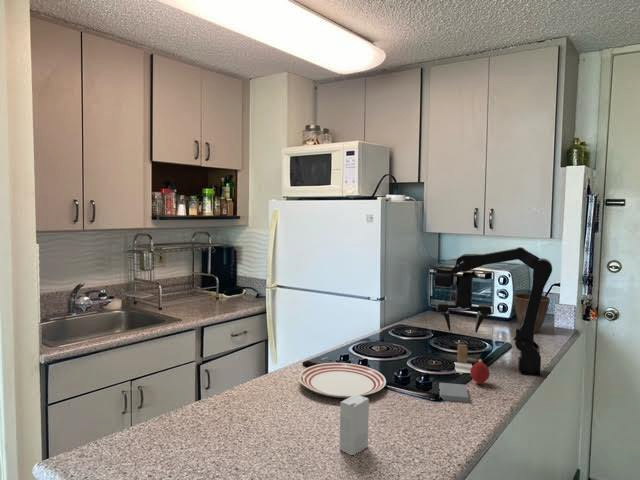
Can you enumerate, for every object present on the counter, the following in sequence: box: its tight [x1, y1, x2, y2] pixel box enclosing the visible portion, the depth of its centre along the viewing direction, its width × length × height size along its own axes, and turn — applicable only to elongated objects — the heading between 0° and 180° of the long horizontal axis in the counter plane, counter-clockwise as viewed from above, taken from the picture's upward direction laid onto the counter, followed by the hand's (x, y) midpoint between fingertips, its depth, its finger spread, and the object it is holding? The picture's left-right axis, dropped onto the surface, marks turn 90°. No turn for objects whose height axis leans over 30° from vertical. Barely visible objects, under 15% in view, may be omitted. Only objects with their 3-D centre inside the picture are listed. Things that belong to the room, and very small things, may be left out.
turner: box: [453, 343, 473, 375], centre depth 170 cm, size 15×6×6 cm, turn 168°
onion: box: [470, 359, 491, 385], centre depth 154 cm, size 6×6×8 cm
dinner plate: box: [298, 362, 387, 399], centre depth 152 cm, size 27×27×3 cm
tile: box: [438, 382, 469, 404], centre depth 146 cm, size 2×8×10 cm
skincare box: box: [339, 395, 370, 456], centre depth 112 cm, size 6×4×12 cm
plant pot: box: [513, 293, 551, 334], centre depth 218 cm, size 15×15×16 cm
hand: (462, 331), depth 174 cm, fingers open, 9 cm apart
